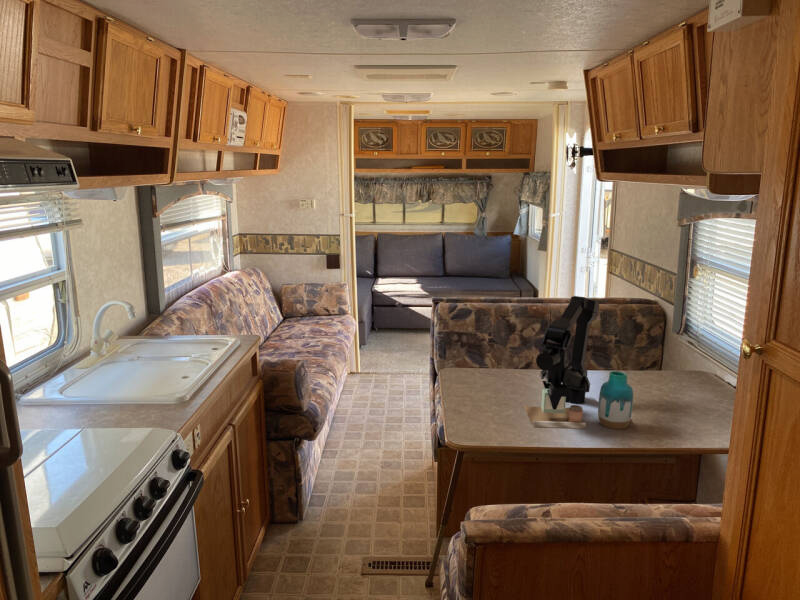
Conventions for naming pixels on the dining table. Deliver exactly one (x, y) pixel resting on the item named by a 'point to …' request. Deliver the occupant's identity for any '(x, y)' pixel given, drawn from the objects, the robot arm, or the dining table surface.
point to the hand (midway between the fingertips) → (553, 406)
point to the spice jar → (575, 413)
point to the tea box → (547, 406)
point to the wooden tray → (551, 419)
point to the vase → (615, 401)
